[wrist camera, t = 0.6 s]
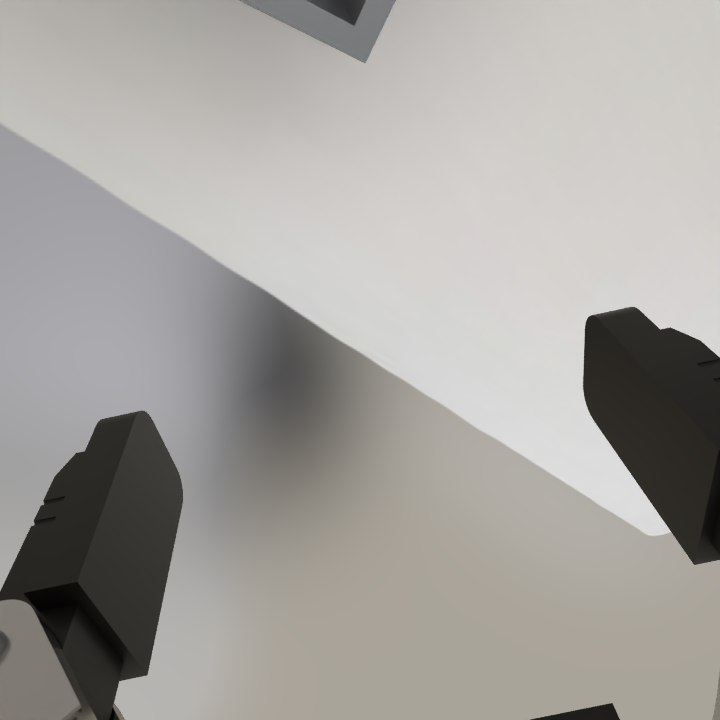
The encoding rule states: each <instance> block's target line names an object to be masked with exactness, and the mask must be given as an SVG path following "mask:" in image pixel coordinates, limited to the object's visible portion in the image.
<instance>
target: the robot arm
mask: <svg viewBox="0 0 720 720" xmlns="http://www.w3.org/2000/svg"><path fill="white" fill-rule="evenodd" d="M583 390H584V397H585V401H586V404H587V407H588V410H589V412H590V415H591V416H592V418H593V420H594V421H595V423H596V424H597V426H598V427H599V429H600V430H601V431H602V433H603V434H604V436H605V437H606V439H607V440H608V441H609V443H610V444H611V446H612V447H613V449H614V450H615V452H616V453H617V454H618V456H619V457H620V459H621V460H622V462H623V463H624V464H625V466H626V467H627V469H628V470H629V472H630V473H631V475H632V476H633V477H634V479H635V480H636V482H637V483H638V485H639V486H640V487H641V489H642V490H643V492H644V493H645V495H646V496H647V498H648V499H649V500H650V502H651V503H652V505H653V506H654V508H655V509H656V510H657V512H658V513H659V515H660V516H661V518H662V519H663V521H664V522H665V523H666V525H667V526H668V528H669V529H670V531H671V532H672V533H673V535H674V536H675V538H676V539H677V541H678V542H679V544H680V545H681V546H682V548H683V549H684V551H685V552H686V554H687V555H688V557H689V558H690V559H691V561H692V562H693V564H694V565H696V564H701V563H705V562H711V561H716V560H720V357H718V356H717V355H716V354H715V353H714V352H713V351H711V350H710V349H709V348H708V347H707V346H706V345H705V344H703V343H702V342H701V341H700V340H698V339H695V338H693V337H691V336H689V335H686V334H684V333H682V332H679V331H677V330H675V329H673V328H666V329H661V330H660V329H659V328H658V327H657V326H656V325H655V324H654V323H653V322H652V321H650V320H649V319H648V318H647V317H646V316H645V315H644V314H643V313H642V312H641V311H640V310H639V309H637V308H635V307H629V308H624V309H619V310H615V311H610V312H605V313H601V314H596V315H592V316H589V317H588V319H587V321H586V325H585V346H584V376H583ZM182 503H183V489H182V483H181V479H180V475H179V472H178V470H177V468H176V466H175V464H174V462H173V460H172V458H171V456H170V454H169V452H168V450H167V448H166V446H165V444H164V442H163V440H162V438H161V436H160V434H159V432H158V430H157V428H156V426H155V424H154V422H153V421H152V419H151V417H150V416H149V414H148V413H147V412H145V411H138V412H134V413H129V414H124V415H120V416H115V417H110V418H105V419H102V420H100V421H99V422H98V423H97V425H96V427H95V429H94V432H93V434H92V436H91V439H90V441H89V443H88V445H87V448H86V450H85V451H84V452H80V453H76V454H75V455H74V456H73V457H72V458H71V459H70V461H69V462H68V463H67V464H66V465H65V466H64V467H63V468H62V469H61V470H60V472H59V473H58V474H57V475H56V476H55V477H54V479H53V482H52V484H51V486H50V488H49V490H48V492H47V494H46V496H45V498H44V505H42V506H41V507H40V509H39V511H38V513H37V515H36V517H35V519H34V523H35V525H34V526H31V528H30V530H29V532H28V534H27V537H26V538H25V541H24V543H23V545H22V547H21V549H20V551H19V553H18V555H17V558H16V559H15V562H14V564H13V566H12V568H11V570H10V572H9V574H8V576H7V578H6V581H5V583H4V585H3V587H2V589H1V591H0V720H125V719H124V717H123V716H122V714H121V712H120V711H119V709H118V708H117V706H116V705H115V704H114V700H115V696H116V691H117V688H118V683H119V681H122V680H126V679H131V678H136V677H141V676H146V675H147V674H148V670H149V665H150V660H151V655H152V650H153V645H154V640H155V635H156V631H157V625H158V621H159V615H160V611H161V606H162V601H163V596H164V592H165V587H166V582H167V577H168V572H169V567H170V562H171V558H172V552H173V548H174V543H175V538H176V533H177V528H178V523H179V518H180V513H181V509H182ZM531 720H620V719H619V717H618V715H617V712H616V710H615V708H614V706H613V704H612V703H611V704H606V705H600V706H595V707H591V708H586V709H581V710H576V711H571V712H566V713H561V714H556V715H551V716H546V717H541V718H536V719H531ZM713 720H720V675H719V684H718V691H717V698H716V704H715V710H714V715H713Z"/></svg>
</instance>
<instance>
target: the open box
mask: <svg viewBox="0 0 720 720" xmlns="http://www.w3.org/2000/svg"><path fill="white" fill-rule="evenodd" d="M240 1H242V2H244V3H246V4H248V5H250V6H252V7H254V8H256V9H258V10H260V11H262V12H264V13H266V14H268V15H270V16H272V17H274V18H276V19H278V20H280V21H282V22H284V23H286V24H288V25H290V26H292V27H294V28H296V29H298V30H300V31H302V32H304V33H306V34H308V35H310V36H312V37H314V38H316V39H318V40H320V41H322V42H324V43H326V44H328V45H330V46H332V47H334V48H336V49H338V50H340V51H342V52H344V53H346V54H348V55H350V56H352V57H354V58H356V59H358V60H360V61H362V62H364V63H366V61H367V59H368V56H369V54H370V52H371V50H372V48H373V46H374V44H375V42H376V40H377V38H378V36H379V34H380V32H381V30H382V27H383V25H384V23H385V21H386V19H387V17H388V15H389V13H390V11H391V9H392V7H393V5H394V3H395V1H396V0H240Z"/></svg>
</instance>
